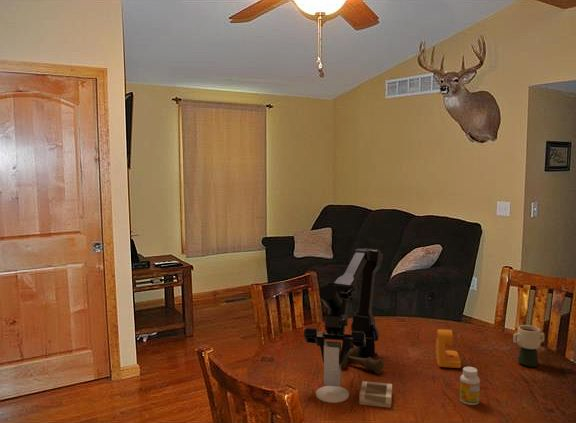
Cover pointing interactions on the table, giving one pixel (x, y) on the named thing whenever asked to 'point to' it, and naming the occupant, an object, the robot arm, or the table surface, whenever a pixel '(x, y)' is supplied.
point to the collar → (376, 394)
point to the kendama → (363, 361)
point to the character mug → (528, 344)
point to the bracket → (446, 356)
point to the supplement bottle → (469, 386)
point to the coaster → (332, 394)
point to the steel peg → (332, 363)
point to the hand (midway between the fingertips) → (331, 363)
